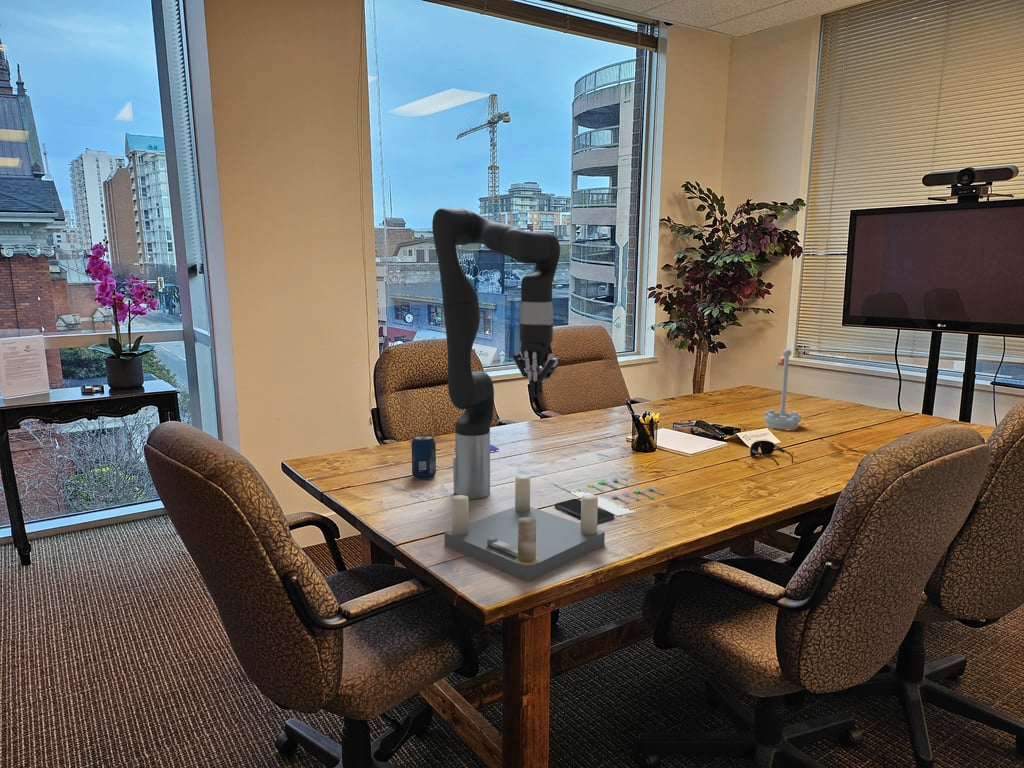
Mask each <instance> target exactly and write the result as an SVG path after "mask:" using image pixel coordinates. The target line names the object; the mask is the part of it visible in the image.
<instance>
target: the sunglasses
mask: <svg viewBox="0 0 1024 768" xmlns="http://www.w3.org/2000/svg"><path fill="white" fill-rule="evenodd" d="M759 449H760V451H759ZM775 450H777V451H778V452H781V453H782V454H784V453H785V454H787V455H789V456H790V457H791V462H792V463H791V464H793V463H794V456H793V455H792V454H791V453H790V452H788V451H787V450H785V449H783V448H781V447H780V446H778V445H777V444H775V443H774V442H772V441H769V440H757V441H754V442H753V443H751V445H750V450H749V453H750V457H751V458H754V457H756V456H759V457H762V456H763V457H765V458H767V459H771V460H773V461H774V462H775V463H776V465H777V466H780V464H779V462H778V461H777V460H776V459H775V458H773V457H770V456H769V455H764V454H770V455H772V454H773V453H774V451H775ZM755 455H756V456H755ZM753 456H754V457H753Z"/></svg>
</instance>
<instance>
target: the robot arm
mask: <svg viewBox="0 0 1024 768" xmlns="http://www.w3.org/2000/svg"><path fill="white" fill-rule="evenodd" d="M432 216H433V217H432V222H431V223H432V237H433V238H432V239H433V242H434V247H435V253H436V257H437V263H438V270H439V277H440V283H441V284H440V285H441V295H442V307H443V308H442V309H443V317H444V324H445V325H444V326H445V333H446V349H447V390H448V396H449V399H450V402H451V403H452V405H453V406H454V407H455V408H457V409H459V410H464V412H463V413H462V415H461V416H460V417H459V418H458V419H457V420H456V421H455V425H454V432H455V436H454V437H455V438H454V439H455V440H454V441H455V448H456V451H455V457H454V458H453V460H452V461H453V462H452V465H453V492H454V493H455V494H456V495H465V496H468V500H469V499H470V500H476V499H477V500H478V499H482V498H483V497H484V498H486V497H488V496H490V495H491V453H490V445H491V426H492V423H493V418H494V403H495V402H494V401H495V388H494V383H493V380H492V378H491V376H490V375H489V374H488V373H487V372H486V371H483V370H474V371H472V360H471V359H472V350H473V346H474V343H475V339H476V337H477V334H478V331H479V328H480V322H481V317H480V316H481V315H480V314H481V313H480V304H479V303H480V301H479V296H478V293H477V291H476V289H475V287H474V285H473V284H472V282H471V281H470V279H469V277H468V276H467V274H466V273H465V271H464V270H463V269H462V266H461V264H460V261H459V258H458V252H457V246H466V245H471V244H472V245H477V244H478V245H485V246H486V247H487V249H489V250H490V251H492V252H494V253H497V254H500V255H503V256H507V257H510V258H511V259H513V260H514V261H516V262H518V263H522V264H527V265H529V264H530V265H535V266H534V270H533V272H532V273H530V274H528V275H525V276H523V278H522V279H521V284H520V285H521V287H520V308H519V341H520V342H521V347H520V351H519V352H518V353H516V354H513V355H512V358H513V360H514V362H515V364H516V366H517V368H518V370H519V372H520V373H521V376H522V377H523V378H526V379H527V380H528V382H529V383H528V388H529V389H528V392H529V397H532V398H539V397H541V396H542V394H543V381H544V380H546V379H549V378H550V377H551V376H552V375H553V373H554V372H555V370H556V369H557V368H558V366H559V364H560V363H561V360H560V358H558V357H557V358H556V357H555V356H554V354H553V350H552V346H551V345H552V342H553V341H554V340H553V339H554V328H553V327H554V311H553V310H554V309H553V282H554V279H555V276H556V272H557V268H558V264H559V261H560V256H561V244H560V241H559V239H558V237H557V236H556V235H555V234H554V233H552V232H548V231H530V230H529V231H528V230H525V229H523V228H521V227H519V226H515V225H512V224H508V223H507V224H506V223H504V222H497V221H493V220H490V219H488V218H485V217H483V216H482V215H480V214H479V213H476V212H474V211H472V210H469V209H467V208H458V207H455V208H452V207H451V208H450V207H443V208H437V210H436V211H435V212H434V214H433V215H432ZM456 495H455V496H456Z"/></svg>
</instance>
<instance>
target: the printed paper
mask: <svg viewBox="0 0 1024 768" xmlns="http://www.w3.org/2000/svg"><path fill="white" fill-rule="evenodd" d="M622 478H623V479H622ZM622 478H620V480H621V481H620V480H619V479H618V478H612V479H611V480H609V481H608V480H606V479H605V480H604V479H602V480H597V483H599V484H601V485H606V486H610V487H612V488H611V489H614V490H619V489H621V488H620V487H618V486H614V485H613V484H610V482H616V481H617V483H619V484H623V485H626V486H627V485H629V483H628V482H622V481H623V480H624V479H625V481H630V482H631V481H632V483H634V481H633V480H631V479H629V478H628V477H622ZM628 479H629V480H628ZM634 485H640V483H639V482H635V483H634ZM586 486H588V488H594V487H595V486H596V485H595V484H593V483H592V482H589V483H587V484H586ZM595 489H596V490H598V491H600V492H603V491H605V489H603V487H602V488H599V487H597V486H596V487H595ZM646 489H647V490H646ZM656 489H658V488H656V487H655V488H654V487H653V486H651V487H646V488H645V489H638V488H635V489H632V492H634V493H636V494H639V492H640V494H641V495H645V496H646V497H649V498H648V499H653V500H654V498H655V499H656V498H657V497H656V496H655V495H650V494H648V493H646V492H645V491H653V492H654V493H659V494H666V492H664V491H662V492H661V491H659V490H656ZM584 492H585V491H584ZM584 492H579V493H578V491H577V492H576V493H574V492H571V493H570V494H572V495H574V496H577V497H578V498H580V499H581V497H582V496H583V495H594V494H592V493H589V492H587V493H584ZM621 495H624V497H629V496H630V495H631V494H629V493H628V492H626V491H624V492H623V493H621ZM596 496H597V497H598V508H600V509H602V510H605V511H607V512H609V513H612V514H614V516H618V517H619V516H622V515H628V514H632V513H637V512H636V511H635V512H634V510H635V509H634V510H633V511H632V510H631V511H630V510H629V509H627V508H626V509H625V508H623V507H624V506H625V507H627V506H626V505H623V504H620V505H621V506H620V505H619V506H618V505H616V504H615V503H616V502H615V503H613V502H614V501H612V500H609V499H606V498H603V497H601V496H599V495H596ZM607 496H608V497H609V498H612V499H618V500H620V501H622V502H624V503H626V504H628V503H630V501H628V500H625V499H622V498H621V497H619V495H618V494H617V495H616V494H614V495H613V494H609V495H607ZM631 497H632V499H633V498H634V500H635V501H638V500H639V501H641V498H639V497H638V498H636V497H634V496H632V495H631V496H630V497H629V498H631ZM608 500H609V501H610V502H609V501H608ZM607 501H608V502H607ZM611 501H612V502H611ZM614 504H615V505H614ZM622 505H623V507H622ZM617 506H618V507H617ZM621 507H622V508H621Z"/></svg>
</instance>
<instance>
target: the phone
mask: <svg viewBox="0 0 1024 768" xmlns="http://www.w3.org/2000/svg"><path fill="white" fill-rule="evenodd" d="M554 509H556V510H559V511H561V512H562V513H564V514H567V515H569V516H571V517H573V518H575V517H576V518H575V519H578V520H580V521H581V499H579V498H571V499H568V500H564V501H560V502H556V503H555V504H554ZM614 519H615V514H613V513H611V512H609V511H607V510H604V509H602V508H600V507H598V513H597V525H599V524H603V523H604V522H610V521H612V520H614Z"/></svg>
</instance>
